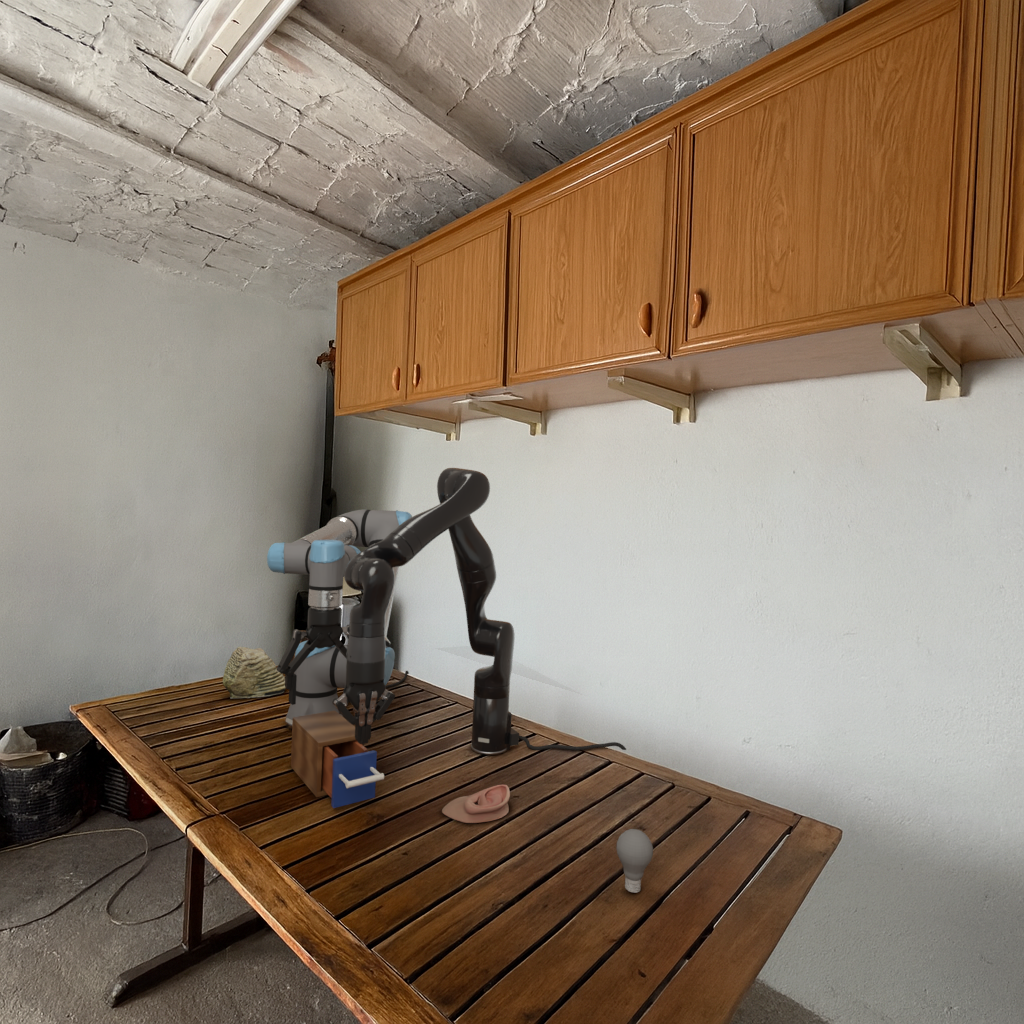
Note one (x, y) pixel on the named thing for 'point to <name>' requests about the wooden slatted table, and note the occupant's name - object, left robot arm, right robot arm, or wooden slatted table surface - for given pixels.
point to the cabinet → (316, 744)
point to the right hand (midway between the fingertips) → (362, 742)
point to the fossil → (252, 674)
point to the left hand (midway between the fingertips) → (321, 698)
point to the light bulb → (634, 857)
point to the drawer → (349, 773)
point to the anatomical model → (480, 805)
